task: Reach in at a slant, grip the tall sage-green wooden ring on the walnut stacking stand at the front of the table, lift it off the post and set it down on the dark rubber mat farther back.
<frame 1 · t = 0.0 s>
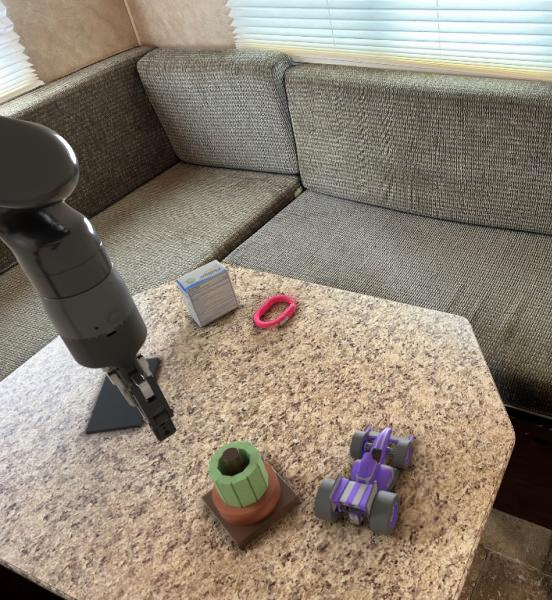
hand: (151, 415, 71), 15 cm above the table, tool pointing down, fingers open, 8 cm apart
medicine box: (216, 312, 109), on the table
green ring: (244, 485, 75), point 4 cm above the table, touching stand
fitness band: (276, 315, 107), on the table
mat: (125, 395, 95), on the table
toy race car: (373, 482, 79), on the table
stand: (252, 503, 78), on the table
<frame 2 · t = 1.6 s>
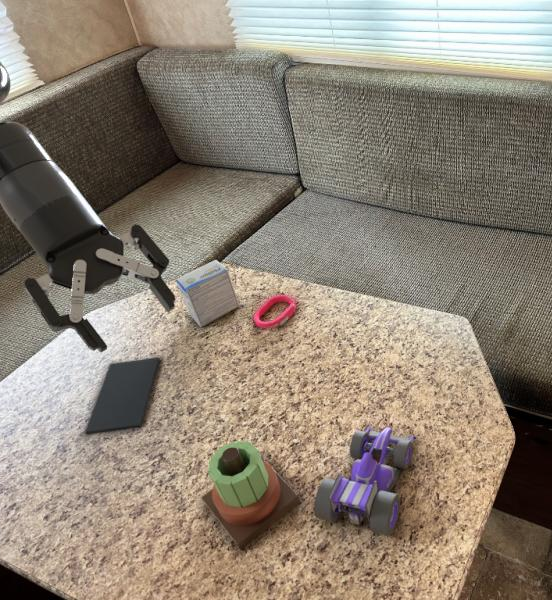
hand: (139, 328, 69), 24 cm above the table, tool tilted 45°, fingers open, 8 cm apart
nothing on the table moved.
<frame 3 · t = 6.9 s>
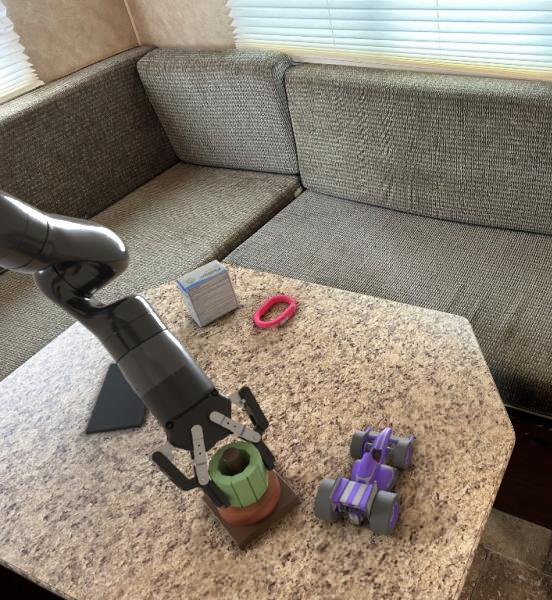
hand: (249, 486, 74), 5 cm above the table, tool tilted 45°, fingers closed on green ring, 6 cm apart
green ring: (244, 485, 75), point 4 cm above the table, touching gripper, stand
everything else where it was.
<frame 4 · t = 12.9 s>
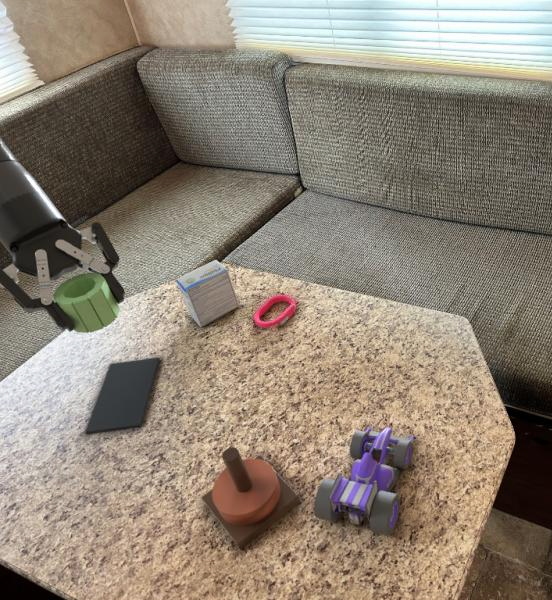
hand: (97, 314, 77), 21 cm above the table, tool tilted 45°, fingers closed on green ring, 6 cm apart
green ring: (95, 317, 79), point 19 cm above the table, touching gripper
everything else where it was.
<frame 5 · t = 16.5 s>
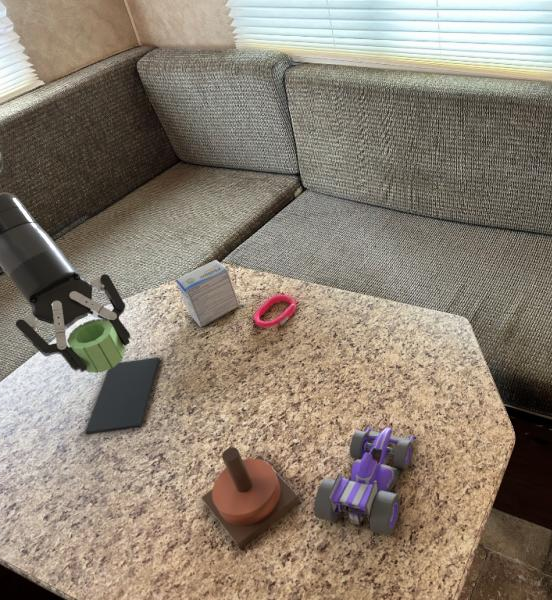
hand: (106, 356, 88), 10 cm above the table, tool tilted 45°, fingers closed on green ring, 6 cm apart
green ring: (104, 357, 89), point 8 cm above the table, touching gripper
everything else where it was.
when the fingers open (2 cm above the table, at t = 19.3 s): green ring stays where it is, resting on mat.
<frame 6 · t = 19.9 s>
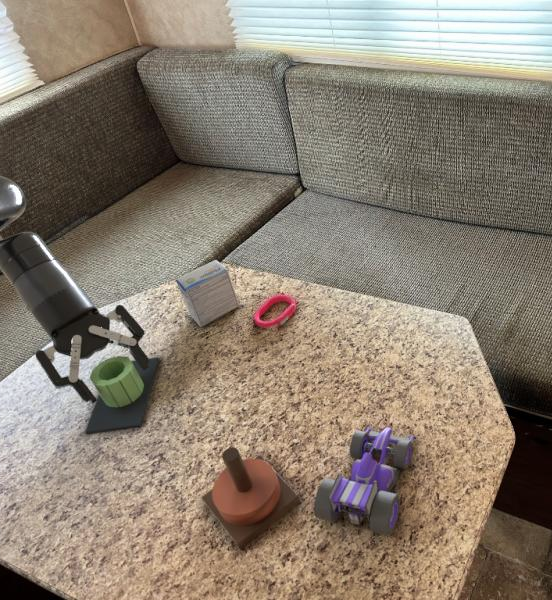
hand: (121, 384, 92), 3 cm above the table, tool tilted 45°, fingers open, 8 cm apart
green ring: (124, 392, 94), point 1 cm above the table, touching mat
everything else where it was.
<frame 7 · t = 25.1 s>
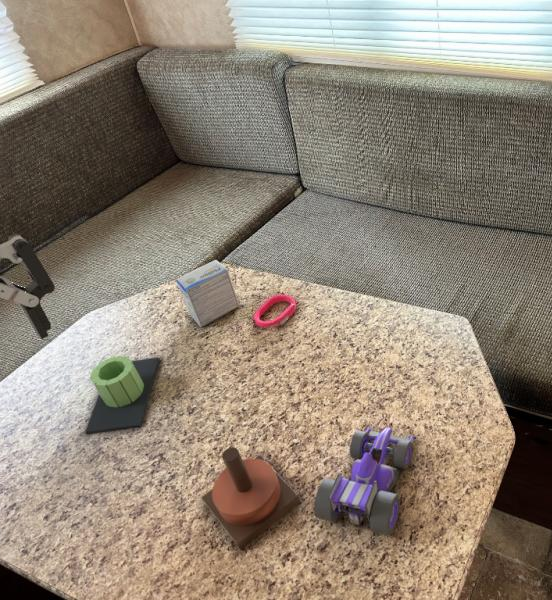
nothing on the table moved.
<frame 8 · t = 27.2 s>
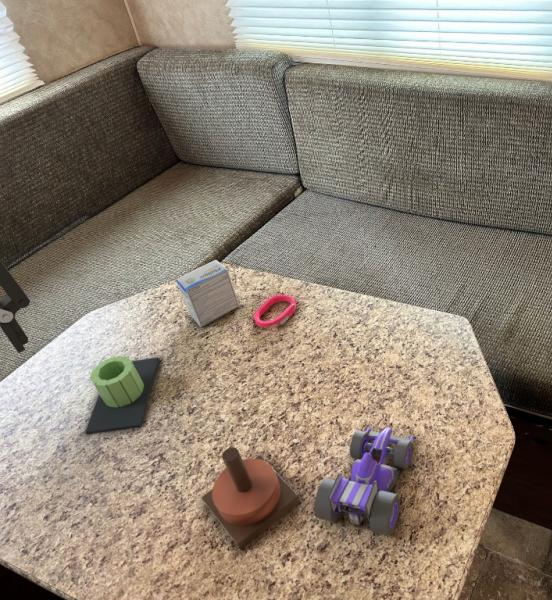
nothing on the table moved.
at the end: green ring inside the target area on the mat (0.0 cm from its centre), point 0.6 cm above the mat's base; green ring tilted 0°; the gripper is holding nothing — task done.
